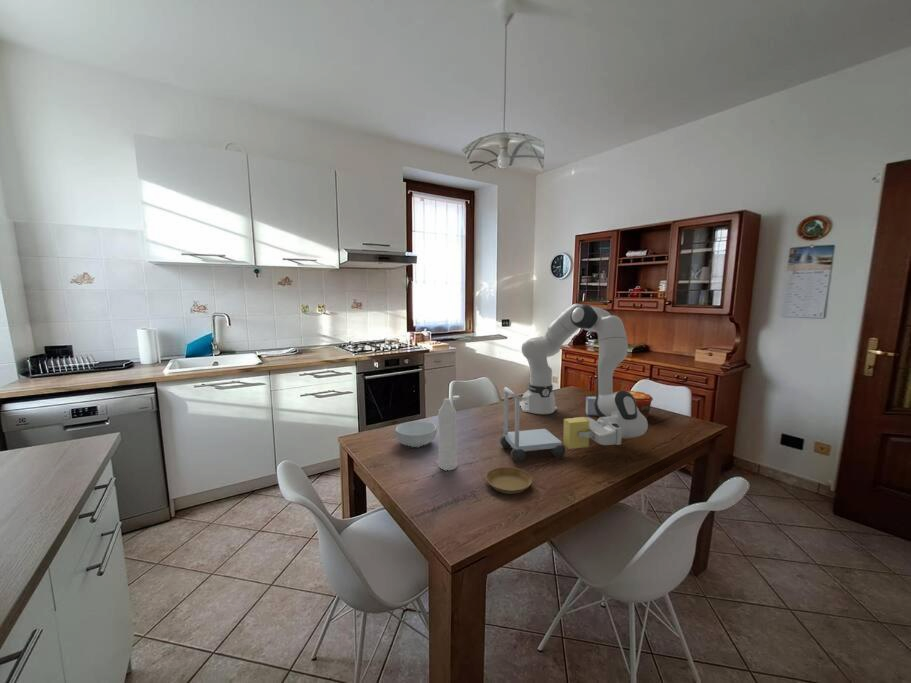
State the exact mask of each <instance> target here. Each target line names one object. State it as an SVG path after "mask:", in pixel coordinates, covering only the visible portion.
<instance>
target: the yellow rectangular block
mask: <svg viewBox="0 0 911 683" xmlns="http://www.w3.org/2000/svg"><path fill="white" fill-rule="evenodd" d="M583 417H584V416H580V417H579V418H575V417H572V418H571V417H570V418H563V439H562V440H563V441H562V445H563V446H564V447H566V448H568V449H569V450H571V449H580V448H589V446H590V438H586V437H579V436H577V432H578V431H582V432H588V431H589V422H590V421H589V420H587V419H585V418H583Z"/></svg>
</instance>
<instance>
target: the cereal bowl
mask: <svg viewBox="0 0 911 683" xmlns="http://www.w3.org/2000/svg"><path fill="white" fill-rule="evenodd" d="M437 432H438V431H437V426H436V425H435V424H434V423H432V422H429V421H423V420H416V421H415V420H414V421H412V420H411V421H407V422H404V423H400V424H399V425H397V426H396V427H395V437H396V438H397V440H398V441H399V443H401V444H402V445H404V446H407V445H408V446H407V447H409V446H413V447H417V448H419V447H418V446H422V447H424V446H425V445H428V444H430V443H432V442H433V441H434V440H435V438H436V436H437ZM423 445H424V446H423ZM413 447H412V448H413Z"/></svg>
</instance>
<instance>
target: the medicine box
mask: <svg viewBox="0 0 911 683" xmlns="http://www.w3.org/2000/svg"><path fill="white" fill-rule="evenodd" d="M595 399H596V396H586V397H585V414H586V415H587V416H599V415H598V414H597V412H596V410H595V407H594V404H595Z"/></svg>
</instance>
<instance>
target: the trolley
mask: <svg viewBox="0 0 911 683" xmlns="http://www.w3.org/2000/svg"><path fill="white" fill-rule="evenodd" d="M509 396H511V397H512V398H513V399H514V431H509V428H508V426H509V425H508V424H509ZM520 401H521V396H519V395H518V394H517V393H515V392H514V391H512V390H511V389H510V388H508V387H507V386H504V388H503V435H502V436H501V437H500V440H499V442H500V445H501V446H502V447H503V448H504V449H506V448H508V449H510V448H512V449H511V451H510V456H511V459H513V461H514V462H516V463H520V462H522V461H524V460H525V458H526V452H529V451H531V452H532V451H538V450H549V449H550V453H551V455H553V456H554V457H555V458H558V459H560V458H562V457H564V456H565V454H566V448H565V447H566V446H565V445H564V444H563V441H562V440H560V439H559V438H557V436H555V435H553V434H552V433H551V432H550V431H549V430H547V429H546V428H538V429H537V428H536V429H528V430H520V410H521V409H520V408H521V407H520Z"/></svg>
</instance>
